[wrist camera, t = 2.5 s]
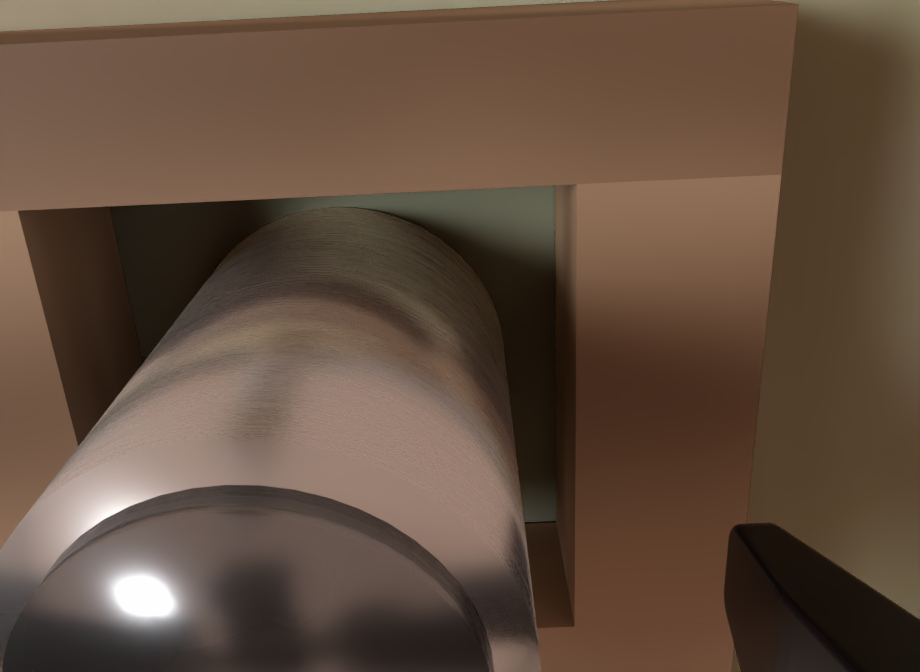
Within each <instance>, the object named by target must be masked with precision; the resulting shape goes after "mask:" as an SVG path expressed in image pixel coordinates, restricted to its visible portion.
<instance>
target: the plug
mask: <svg viewBox="0 0 920 672" xmlns="http://www.w3.org/2000/svg"><path fill="white" fill-rule="evenodd" d="M0 672H541V662H540V652H539V642H538V634H537V625H536V617H535V609H534V600H533V592H532V583H531V575H530V566H529V558H528V550H527V541H526V533H525V524H524V516H523V507H522V499H521V490H520V482H519V474H518V465H517V457H516V448H515V440H514V431H513V423H512V415H511V406H510V398H509V389H508V381H507V372H506V364H505V355H504V347H503V339H502V331H501V327H500V323H499V319H498V315H497V312H496V310H495V308H494V305H493V303H492V300H491V298H490V295H489V294H488V292H487V290H486V289H485V287H484V285H483V283H482V282H481V280H480V278H479V277H478V276H477V275H476V273H475V272H474V271H473V269H472V268H471V267H470V265H469V264H468V263H467V262H466V261H465V260H464V259H463V258H462V257H461V256H460V255H459V254H458V253H457V252H456V251H455V250H454V249H453V248H452V247H450V246H449V245H448V244H446V243H445V242H444V241H442V240H441V239H440V238H438V237H437V236H436V235H434V234H432V233H431V232H429V231H427V230H425V229H424V228H422V227H420V226H418V225H416V224H414V223H412V222H409V221H407V220H404V219H402V218H400V217H397V216H394V215H390V214H386V213H383V212H379V211H375V210H368V209H361V208H350V207H330V208H321V209H312V210H308V211H304V212H300V213H296V214H292V215H289V216H286V217H284V218H281V219H279V220H276V221H273V222H271V223H269V224H267V225H266V226H264V227H262V228H260V229H259V230H257V231H255V232H253V233H252V234H251V235H249V236H248V237H247V238H245V239H244V240H243V241H241V242H240V243H239V244H238V245H236V247H235V248H234V249H233V250H232V251H231V252H230V253H229V254H228V255H227V256H226V257H225V258H224V259H223V260H222V261H221V263H220V264H219V265H218V267H217V268H216V269H215V270H214V272H213V273H212V274H211V276H210V277H209V278H208V279H207V281H206V282H205V283H204V285H203V286H202V287H201V289H200V290H199V291H198V292H197V294H196V295H195V296H194V298H193V299H192V300H191V302H190V303H189V304H188V305H187V307H186V308H185V309H184V311H183V312H182V313H181V314H180V316H179V317H178V318H177V320H176V321H175V322H174V324H173V325H172V326H171V327H170V329H169V330H168V331H167V333H166V334H165V335H164V336H163V338H162V339H161V340H160V342H159V343H158V344H157V346H156V347H155V348H154V349H153V351H152V352H151V353H150V355H149V356H148V357H147V358H146V360H145V361H144V362H143V364H142V365H141V366H140V368H139V369H138V370H137V371H136V373H135V374H134V375H133V377H132V378H131V379H130V381H129V382H128V383H127V384H126V386H125V387H124V388H123V390H122V391H121V392H120V393H119V395H118V396H117V397H116V399H115V400H114V401H113V403H112V404H111V405H110V406H109V408H108V409H107V410H106V412H105V413H104V414H103V415H102V417H101V418H100V419H99V421H98V422H97V423H96V425H95V426H94V427H93V428H92V430H91V431H90V432H89V434H88V435H87V436H86V437H85V439H84V440H83V441H82V443H81V444H80V445H79V447H78V448H77V449H76V450H75V452H74V453H73V454H72V456H71V457H70V458H69V460H68V461H67V462H66V463H65V465H64V466H63V467H62V469H61V470H60V471H59V472H58V474H57V475H56V476H55V478H54V479H53V480H52V482H51V483H50V484H49V485H48V487H47V488H46V489H45V491H44V492H43V493H42V494H41V496H40V497H39V498H38V500H37V501H36V502H35V504H34V505H33V506H32V507H31V509H30V510H29V511H28V513H27V514H26V515H25V516H24V518H23V519H22V520H21V522H20V523H19V524H18V526H17V527H16V528H15V530H14V531H13V532H12V534H11V535H10V537H9V538H8V539H7V541H6V542H5V544H4V545H3V546H2V548H1V549H0Z"/></svg>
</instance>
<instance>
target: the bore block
mask: <svg viewBox="0 0 920 672" xmlns="http://www.w3.org/2000/svg"><path fill="white" fill-rule="evenodd" d="M798 5H799V4H793V3H786V2H779V1H772V0H615V1H596V2H576V3H556V4H536V5H517V6H497V7H477V8H458V9H438V10H418V11H399V12H379V13H359V14H340V15H320V16H300V17H281V18H261V19H241V20H222V21H202V22H182V23H163V24H143V25H123V26H104V27H84V28H64V29H44V30H25V31H5V32H0V549H1V548H2V546H3V545H4V544H5V542H6V541H7V539H8V538H9V537H10V535H11V534H12V532H13V531H14V530H15V528H16V527H17V526H18V524H19V523H20V522H21V520H22V519H23V518H24V516H25V515H26V514H27V513H28V511H29V510H30V509H31V507H32V506H33V505H34V504H35V502H36V501H37V500H38V498H39V497H40V496H41V494H42V493H43V492H44V491H45V489H46V488H47V487H48V485H49V484H50V483H51V482H52V480H53V479H54V478H55V476H56V475H57V474H58V472H59V471H60V470H61V469H62V467H63V466H64V465H65V463H66V462H67V461H68V460H69V458H70V457H71V456H72V454H73V453H74V452H75V450H76V449H77V448H78V447H79V445H80V444H81V443H82V441H83V440H84V439H85V437H86V436H87V435H88V434H89V432H90V431H91V430H92V428H93V427H94V426H95V425H96V423H97V422H98V421H99V419H100V418H101V417H102V415H103V414H104V413H105V412H106V410H107V409H108V408H109V406H110V405H111V404H112V403H113V401H114V400H115V399H116V397H117V396H118V395H119V393H120V392H121V391H122V390H123V388H124V387H125V386H126V384H127V383H128V382H129V381H130V379H131V378H132V377H133V375H134V374H135V373H136V371H137V370H138V369H139V368H140V366H141V365H142V364H143V363H142V359H141V354H140V349H139V345H138V340H137V335H136V331H135V326H134V321H133V316H132V312H131V307H130V302H129V298H128V293H127V288H126V284H125V279H124V274H123V269H122V265H121V260H120V255H119V251H118V246H117V241H116V237H115V232H114V227H113V223H112V218H111V213H110V208H109V206H129V205H150V204H171V203H192V202H213V201H234V200H255V199H277V198H298V197H319V196H340V195H361V194H382V193H404V192H425V191H446V190H467V189H488V188H509V187H531V186H552V185H555V297H556V522H555V523H530V524H525V533H526V541H527V550H528V558H529V566H530V575H531V583H532V592H533V600H534V609H535V617H536V625H537V634H538V642H539V652H540V662H541V672H732V662H733V652H734V642H733V638H732V634H731V631H730V627H729V623H728V619H727V615H726V611H725V604H724V582H725V571H726V560H727V549H728V539H729V534H730V531H731V529H732V528H733V527H734V526H735V525H737V524H746V523H747V513H748V503H749V493H750V483H751V473H752V463H753V453H754V443H755V433H756V423H757V413H758V403H759V393H760V383H761V373H762V363H763V353H764V343H765V334H766V324H767V314H768V304H769V294H770V284H771V274H772V264H773V254H774V244H775V234H776V224H777V214H778V204H779V194H780V184H781V174H782V164H783V154H784V144H785V134H786V124H787V114H788V104H789V94H790V84H791V75H792V65H793V55H794V45H795V35H796V25H797V15H798Z"/></svg>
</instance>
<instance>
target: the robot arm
mask: <svg viewBox="0 0 920 672" xmlns="http://www.w3.org/2000/svg"><path fill="white" fill-rule="evenodd" d="M724 604H725V611H726V615H727V619H728V623H729V627H730V631H731V634H732V638H733V642H734V646H735V650H736V654H737V657H738V661H739V665H740V669H741V672H920V619H918V618H917V617H915V616H914V615H912V614H911V613H909V612H908V611H906V610H905V609H903V608H902V607H900V606H899V605H897V604H896V603H894V602H893V601H891V600H890V599H888V598H887V597H885V596H883V595H882V594H880V593H879V592H877V591H876V590H874V589H873V588H871V587H870V586H868V585H867V584H865V583H864V582H862V581H861V580H859V579H858V578H856V577H855V576H853V575H852V574H850V573H849V572H847V571H846V570H844V569H843V568H841V567H840V566H838V565H837V564H835V563H834V562H832V561H831V560H829V559H828V558H826V557H824V556H823V555H821V554H820V553H818V552H817V551H815V550H814V549H812V548H811V547H809V546H808V545H806V544H805V543H803V542H802V541H800V540H799V539H797V538H796V537H794V536H793V535H791V534H790V533H788V532H787V531H785V530H784V529H782V528H781V527H779V526H777V525H775V524H772V523H753V524H737V525H735V526H734V527H733V528H732V529H731V531H730V534H729V539H728V549H727V560H726V571H725V582H724Z"/></svg>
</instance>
